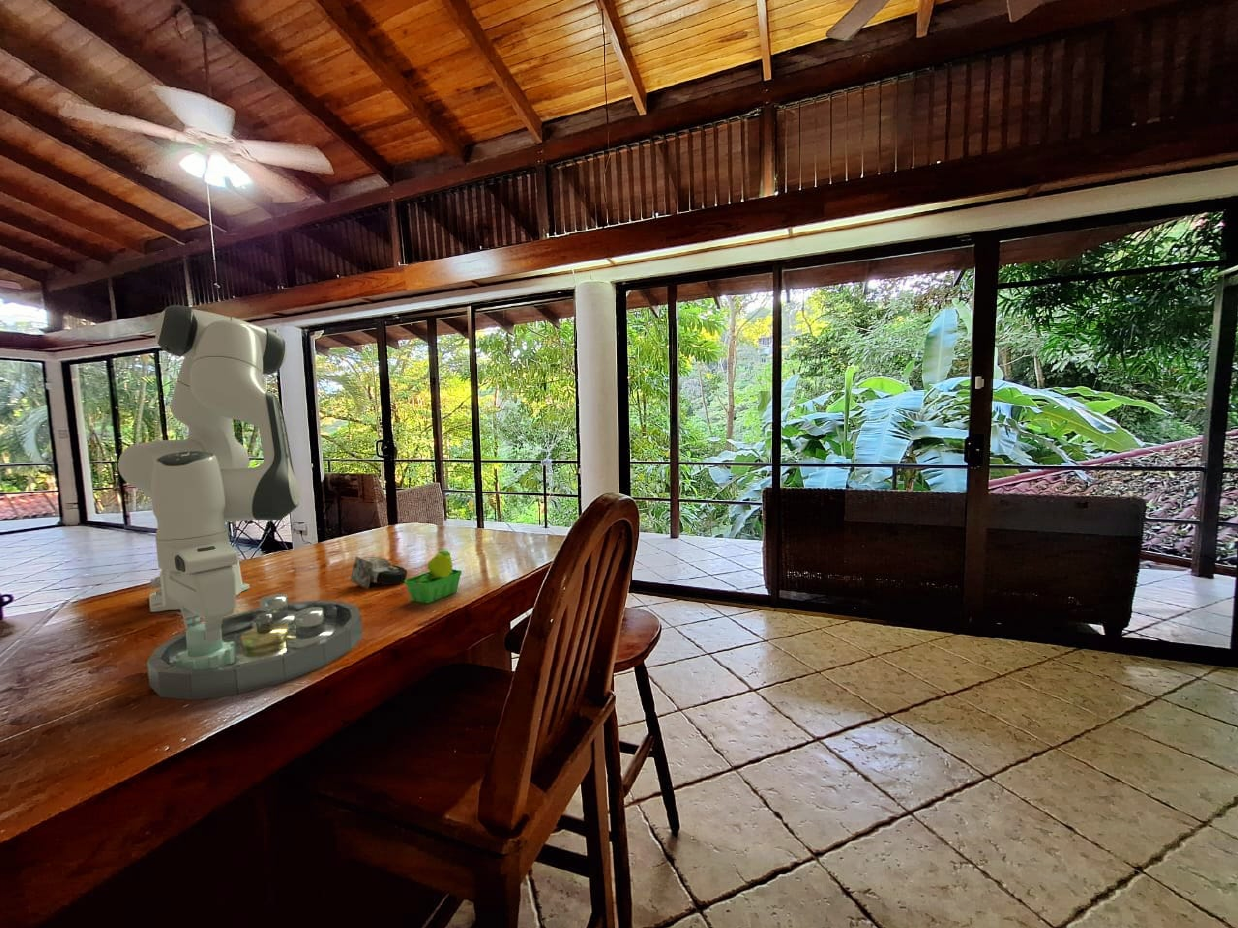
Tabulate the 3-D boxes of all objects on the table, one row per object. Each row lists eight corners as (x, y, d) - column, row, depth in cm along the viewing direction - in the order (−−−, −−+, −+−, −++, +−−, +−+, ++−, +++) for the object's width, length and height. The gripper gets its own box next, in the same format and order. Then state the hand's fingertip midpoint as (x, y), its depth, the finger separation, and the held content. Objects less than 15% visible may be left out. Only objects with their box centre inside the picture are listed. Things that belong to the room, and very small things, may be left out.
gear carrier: (129, 666, 83) (124, 624, 82) (316, 609, 108) (314, 576, 107) (186, 721, 66) (181, 669, 65) (392, 638, 91) (389, 600, 90)
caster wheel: (410, 588, 128) (379, 595, 119) (380, 575, 132) (348, 581, 123) (415, 564, 128) (384, 569, 119) (385, 552, 132) (353, 556, 123)
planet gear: (168, 669, 79) (165, 630, 78) (226, 650, 85) (223, 615, 84) (184, 681, 74) (180, 641, 74) (243, 661, 81) (240, 623, 80)
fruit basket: (441, 586, 121) (439, 542, 120) (468, 591, 117) (465, 545, 116) (403, 602, 111) (400, 554, 110) (431, 607, 107) (428, 557, 106)
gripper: (150, 548, 81) (158, 627, 82) (189, 564, 70) (198, 656, 71) (198, 540, 87) (205, 614, 88) (242, 554, 75) (249, 639, 76)
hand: (202, 633), depth 79 cm, fingers open, 8 cm apart
